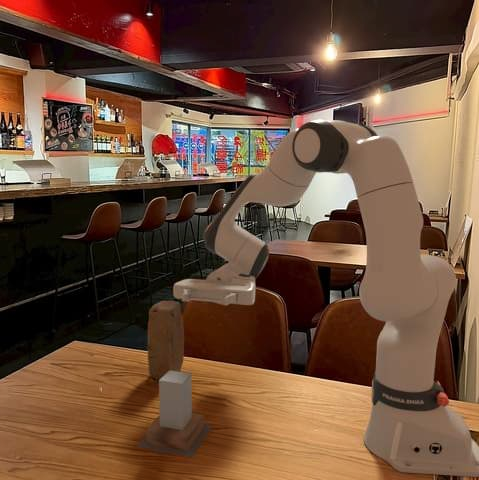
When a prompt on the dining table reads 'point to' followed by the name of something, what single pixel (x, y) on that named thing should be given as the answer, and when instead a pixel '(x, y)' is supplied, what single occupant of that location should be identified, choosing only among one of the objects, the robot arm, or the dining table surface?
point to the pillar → (175, 400)
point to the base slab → (175, 433)
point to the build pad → (175, 451)
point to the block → (165, 339)
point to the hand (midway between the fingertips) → (203, 300)
